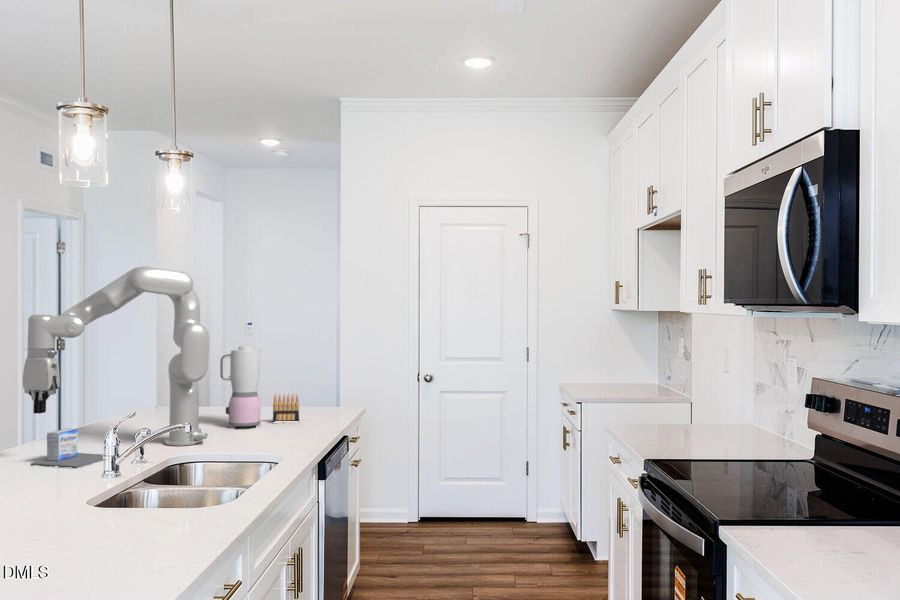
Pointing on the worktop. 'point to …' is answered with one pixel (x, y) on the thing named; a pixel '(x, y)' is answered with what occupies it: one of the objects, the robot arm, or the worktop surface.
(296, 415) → the ammunition clip
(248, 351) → the blender
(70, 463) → the mat
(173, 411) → the robot arm
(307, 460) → the worktop surface
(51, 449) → the medicine box
